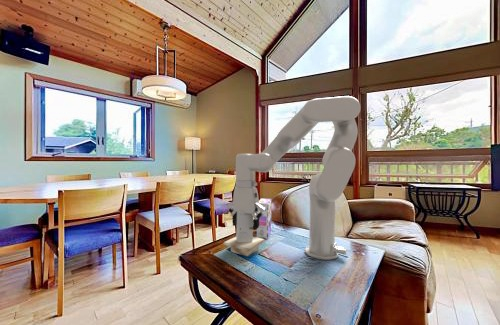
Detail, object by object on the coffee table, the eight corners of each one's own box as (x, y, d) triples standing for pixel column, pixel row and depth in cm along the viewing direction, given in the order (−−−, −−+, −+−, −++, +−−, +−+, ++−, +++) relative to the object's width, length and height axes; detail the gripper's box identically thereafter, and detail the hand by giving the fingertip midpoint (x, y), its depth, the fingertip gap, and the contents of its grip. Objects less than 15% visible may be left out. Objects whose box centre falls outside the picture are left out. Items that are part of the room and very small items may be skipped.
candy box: (268, 239, 110) (268, 203, 109) (255, 238, 111) (255, 203, 110) (271, 230, 123) (271, 198, 123) (260, 229, 124) (260, 197, 124)
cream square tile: (264, 248, 99) (264, 239, 99) (249, 259, 88) (249, 248, 88) (240, 242, 105) (240, 233, 105) (223, 252, 95) (223, 242, 95)
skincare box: (238, 243, 94) (238, 212, 93) (235, 239, 98) (236, 209, 98) (253, 241, 95) (253, 211, 95) (250, 238, 100) (250, 209, 99)
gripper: (269, 184, 95) (268, 227, 95) (233, 182, 104) (233, 221, 104) (259, 187, 88) (259, 233, 89) (222, 184, 97) (222, 225, 98)
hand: (245, 226), depth 96 cm, fingers open, 9 cm apart
